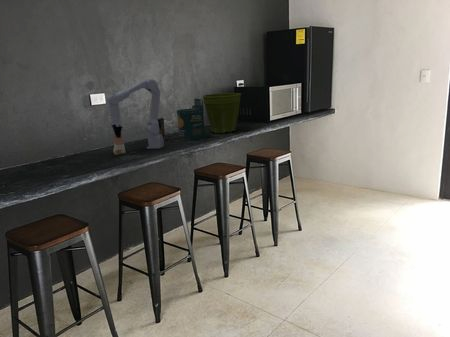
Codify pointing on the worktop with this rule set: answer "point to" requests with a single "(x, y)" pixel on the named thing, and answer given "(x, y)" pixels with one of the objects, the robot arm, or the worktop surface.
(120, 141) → the terracotta cube
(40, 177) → the worktop surface
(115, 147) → the tower top
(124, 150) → the tower base
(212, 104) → the plant pot
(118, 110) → the robot arm
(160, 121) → the coffee box
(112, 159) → the worktop surface
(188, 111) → the donation box
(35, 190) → the worktop surface
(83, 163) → the worktop surface
